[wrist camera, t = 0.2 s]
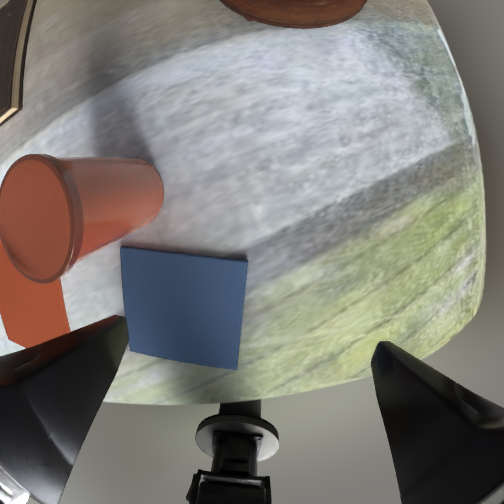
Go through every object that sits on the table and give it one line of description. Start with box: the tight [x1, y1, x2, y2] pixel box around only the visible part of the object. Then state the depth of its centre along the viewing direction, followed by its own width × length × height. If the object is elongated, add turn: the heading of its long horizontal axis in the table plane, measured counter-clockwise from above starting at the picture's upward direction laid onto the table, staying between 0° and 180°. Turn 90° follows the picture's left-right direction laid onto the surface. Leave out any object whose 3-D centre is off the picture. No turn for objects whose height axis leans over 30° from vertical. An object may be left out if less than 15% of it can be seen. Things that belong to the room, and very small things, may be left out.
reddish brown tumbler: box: [0, 154, 164, 284], centre depth 17 cm, size 7×7×13 cm
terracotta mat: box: [0, 238, 70, 348], centre depth 27 cm, size 18×16×1 cm
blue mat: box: [120, 246, 248, 370], centre depth 26 cm, size 12×12×1 cm
